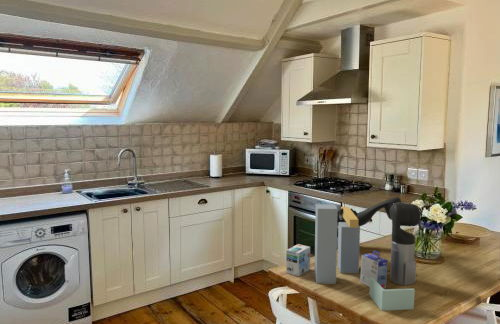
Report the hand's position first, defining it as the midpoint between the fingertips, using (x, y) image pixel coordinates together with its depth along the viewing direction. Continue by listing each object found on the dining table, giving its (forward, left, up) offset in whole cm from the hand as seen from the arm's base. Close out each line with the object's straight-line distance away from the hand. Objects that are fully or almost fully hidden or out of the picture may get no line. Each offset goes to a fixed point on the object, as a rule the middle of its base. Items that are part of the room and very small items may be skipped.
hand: (347, 210), depth 183 cm
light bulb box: (+5, +23, -26) cm, 36 cm away
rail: (-4, +2, -3) cm, 6 cm away
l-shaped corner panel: (-36, +9, -26) cm, 46 cm away
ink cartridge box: (-22, +4, -26) cm, 35 cm away
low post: (-4, +2, -26) cm, 27 cm away
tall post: (-8, +18, -26) cm, 33 cm away
